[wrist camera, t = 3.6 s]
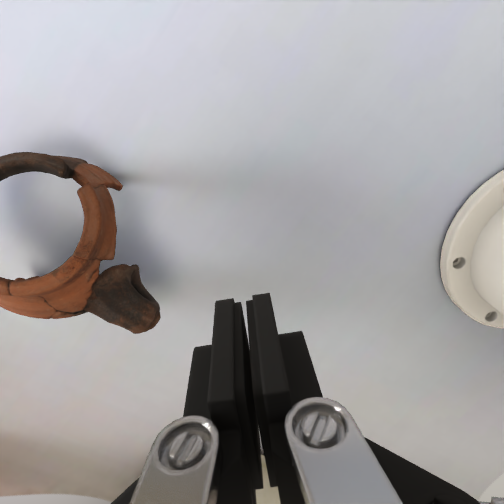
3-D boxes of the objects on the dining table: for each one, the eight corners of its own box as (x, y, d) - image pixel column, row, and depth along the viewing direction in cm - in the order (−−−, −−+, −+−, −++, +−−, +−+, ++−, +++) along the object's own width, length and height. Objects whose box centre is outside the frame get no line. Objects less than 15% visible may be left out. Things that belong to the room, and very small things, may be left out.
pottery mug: (-8, 268, 24) (-128, 252, 16) (77, 161, 25) (8, 95, 17) (137, 365, 24) (91, 398, 16) (214, 251, 25) (209, 228, 17)
